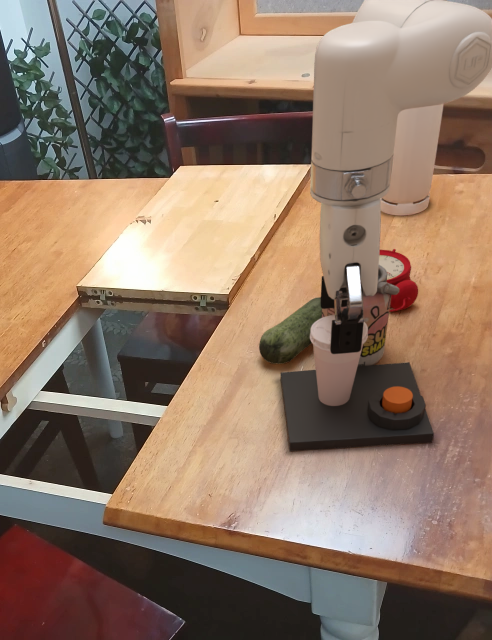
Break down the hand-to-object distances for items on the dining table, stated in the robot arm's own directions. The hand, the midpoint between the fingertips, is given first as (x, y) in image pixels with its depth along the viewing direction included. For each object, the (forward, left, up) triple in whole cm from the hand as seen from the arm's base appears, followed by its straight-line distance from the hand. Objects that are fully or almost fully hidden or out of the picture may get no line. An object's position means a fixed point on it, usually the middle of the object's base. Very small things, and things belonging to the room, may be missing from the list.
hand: (339, 328), depth 83 cm
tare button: (-6, +4, -9) cm, 11 cm away
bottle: (-18, -53, -11) cm, 57 cm away
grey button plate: (-2, +1, -11) cm, 11 cm away
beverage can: (-4, -10, -11) cm, 16 cm away
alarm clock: (-9, -24, -11) cm, 28 cm away
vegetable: (+3, -14, -11) cm, 18 cm away
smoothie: (0, 0, -10) cm, 10 cm away
